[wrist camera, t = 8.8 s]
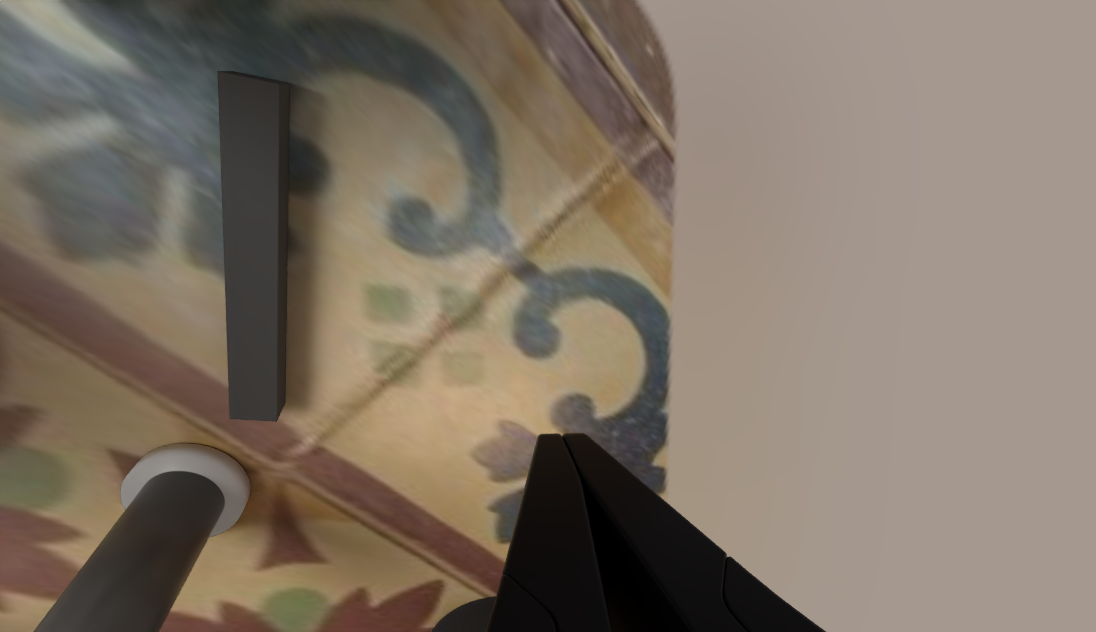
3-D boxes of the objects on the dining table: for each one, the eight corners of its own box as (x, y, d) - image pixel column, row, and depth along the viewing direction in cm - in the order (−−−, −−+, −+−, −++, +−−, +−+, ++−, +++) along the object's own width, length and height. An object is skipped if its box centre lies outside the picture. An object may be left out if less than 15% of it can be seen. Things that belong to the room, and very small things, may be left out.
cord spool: (258, 520, 23) (132, 807, 14) (147, 528, 22) (-62, 838, 13) (240, 440, 21) (81, 711, 12) (118, 446, 20) (-148, 740, 11)
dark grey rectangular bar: (287, 397, 21) (276, 421, 20) (244, 395, 21) (229, 418, 19) (292, 82, 17) (278, 84, 15) (237, 71, 16) (217, 71, 15)
